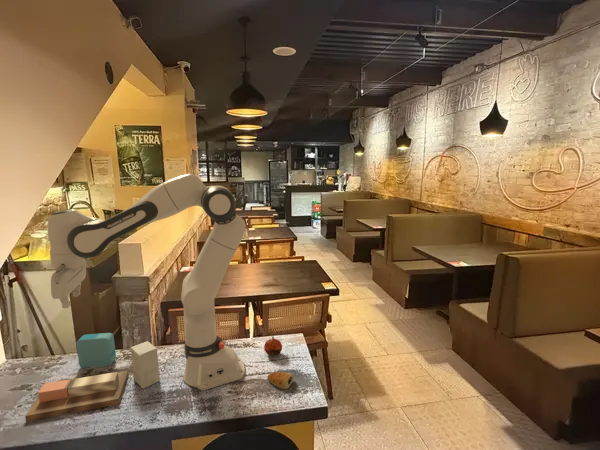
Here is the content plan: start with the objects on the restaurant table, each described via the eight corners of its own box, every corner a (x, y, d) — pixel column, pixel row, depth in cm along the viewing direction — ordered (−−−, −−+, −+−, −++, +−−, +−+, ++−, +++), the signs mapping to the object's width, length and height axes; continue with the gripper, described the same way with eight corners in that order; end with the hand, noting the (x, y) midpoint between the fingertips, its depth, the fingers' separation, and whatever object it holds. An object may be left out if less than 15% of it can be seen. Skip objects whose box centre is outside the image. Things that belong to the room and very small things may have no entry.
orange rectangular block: (73, 388, 116) (71, 378, 116) (67, 397, 112) (66, 387, 111) (46, 392, 114) (44, 383, 113) (39, 402, 109) (37, 392, 109)
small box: (160, 380, 123) (157, 348, 121) (142, 389, 119) (139, 355, 116) (150, 371, 129) (147, 340, 127) (133, 379, 124) (130, 347, 122)
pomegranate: (282, 363, 137) (285, 339, 144) (278, 356, 132) (281, 332, 139) (265, 363, 139) (268, 340, 145) (260, 356, 133) (263, 332, 140)
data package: (116, 359, 137) (113, 332, 135) (112, 366, 133) (108, 338, 131) (85, 361, 136) (81, 334, 134) (79, 368, 131) (75, 340, 129)
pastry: (263, 384, 121) (263, 374, 121) (273, 374, 127) (273, 364, 127) (286, 391, 117) (286, 381, 117) (295, 380, 123) (295, 371, 123)
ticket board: (128, 375, 127) (127, 362, 126) (119, 404, 111) (117, 388, 110) (47, 389, 119) (45, 374, 118) (26, 421, 104) (23, 405, 103)
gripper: (67, 269, 98) (71, 313, 100) (88, 252, 117) (91, 289, 120) (42, 270, 96) (47, 316, 99) (67, 253, 116) (71, 291, 118)
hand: (71, 301), depth 109 cm, fingers open, 8 cm apart
